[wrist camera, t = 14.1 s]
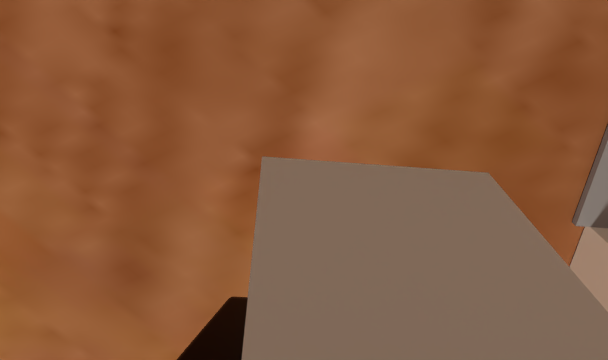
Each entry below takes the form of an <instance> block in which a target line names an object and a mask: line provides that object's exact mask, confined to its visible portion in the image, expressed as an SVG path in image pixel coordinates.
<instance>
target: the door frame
mask: <svg viewBox="0 0 608 360" xmlns="http://www.w3.org/2000/svg"><path fill="white" fill-rule="evenodd" d="M572 223H573V224H574V225H575V226H584V227H585V228H584V230H583V233H582V236H581V238H580V241H579V243H578V246H577V249H576V251H575V254H574V257H573V259H572V262H571V264H570V269H571V270H572V271H573V272H574V273H575V274H576V276H577V277H578V278H579V279H580V280H581V281H582V283H583V284H584V285H585V286H586V287H587V288H588V290H589V291H590V292H591V293H592V294H593V295H594V297H595V298H596V299H597V300H598V301H599V302H600V304H601V305H602V306H603V307H604V308H605V309H606V311H607V312H608V126H607V128H606V131H605V134H604V137H603V139H602V142H601V145H600V147H599V150H598V153H597V156H596V158H595V161H594V164H593V166H592V169H591V172H590V175H589V177H588V180H587V183H586V185H585V188H584V191H583V193H582V196H581V199H580V202H579V204H578V207H577V210H576V212H575V215H574V218H573V221H572Z"/></svg>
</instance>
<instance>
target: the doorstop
mask: <svg viewBox="0 0 608 360" xmlns="http://www.w3.org/2000/svg"><path fill="white" fill-rule="evenodd" d="M242 360H608V312H607V311H606V309H605V308H604V307H603V306H602V305H601V304H600V302H599V301H598V300H597V299H596V298H595V297H594V295H593V294H592V293H591V292H590V291H589V290H588V288H587V287H586V286H585V285H584V284H583V283H582V281H581V280H580V279H579V278H578V277H577V276H576V274H575V273H574V272H573V271H572V270H571V269H570V267H569V266H568V265H567V264H566V263H565V262H564V260H563V259H562V258H561V257H560V256H559V255H558V253H557V252H556V251H555V250H554V249H553V248H552V247H551V245H550V244H549V243H548V242H547V241H546V240H545V238H544V237H543V236H542V235H541V234H540V233H539V231H538V230H537V229H536V228H535V227H534V226H533V224H532V223H531V222H530V221H529V220H528V219H527V217H526V216H525V215H524V214H523V213H522V212H521V210H520V209H519V208H518V207H517V206H516V205H515V203H514V202H513V201H512V200H511V199H510V198H509V196H508V195H507V194H506V193H505V192H504V191H503V189H502V188H501V187H500V186H499V185H498V184H497V182H496V181H495V180H494V179H493V178H492V177H491V175H490V174H489V173H484V172H470V171H456V170H442V169H428V168H414V167H400V166H386V165H372V164H358V163H344V162H330V161H317V160H303V159H289V158H275V157H262V164H261V174H260V184H259V194H258V203H257V213H256V223H255V233H254V242H253V252H252V262H251V272H250V282H249V291H248V301H247V311H246V321H245V330H244V340H243V350H242Z"/></svg>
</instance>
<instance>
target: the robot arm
mask: <svg viewBox="0 0 608 360" xmlns="http://www.w3.org/2000/svg"><path fill="white" fill-rule="evenodd" d="M247 301H248V297H231V298H229V299H228V300H227V301H226V302H225V304H224V305H223V306H222V307H221V308H220V309H219V311H218V312H217V313H216V314H215V315H214V316H213V318H212V319H211V320H210V321H209V322H208V323H207V325H206V326H205V327H204V328H203V329H202V331H201V332H200V333H199V334H198V335H197V336H196V338H195V339H194V340H193V341H192V342H191V343H190V345H189V346H188V347H187V348H186V349H185V350H184V352H183V353H182V354H181V355H180V356H179V357H178V359H177V360H242V350H243V340H244V330H245V321H246V311H247Z"/></svg>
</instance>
